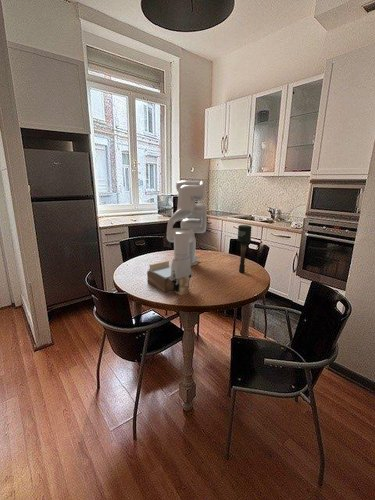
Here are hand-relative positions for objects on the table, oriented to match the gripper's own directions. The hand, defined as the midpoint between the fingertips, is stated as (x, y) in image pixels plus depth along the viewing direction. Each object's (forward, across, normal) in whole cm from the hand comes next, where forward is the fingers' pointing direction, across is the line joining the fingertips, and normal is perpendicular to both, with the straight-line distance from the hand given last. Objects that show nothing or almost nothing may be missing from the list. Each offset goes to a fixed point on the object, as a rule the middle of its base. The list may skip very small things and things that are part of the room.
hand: (181, 288), depth 131 cm
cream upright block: (+2, 0, 0) cm, 2 cm away
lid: (-5, 0, -14) cm, 14 cm away
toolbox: (+2, 0, -14) cm, 14 cm away
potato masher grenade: (+2, -49, +1) cm, 49 cm away
